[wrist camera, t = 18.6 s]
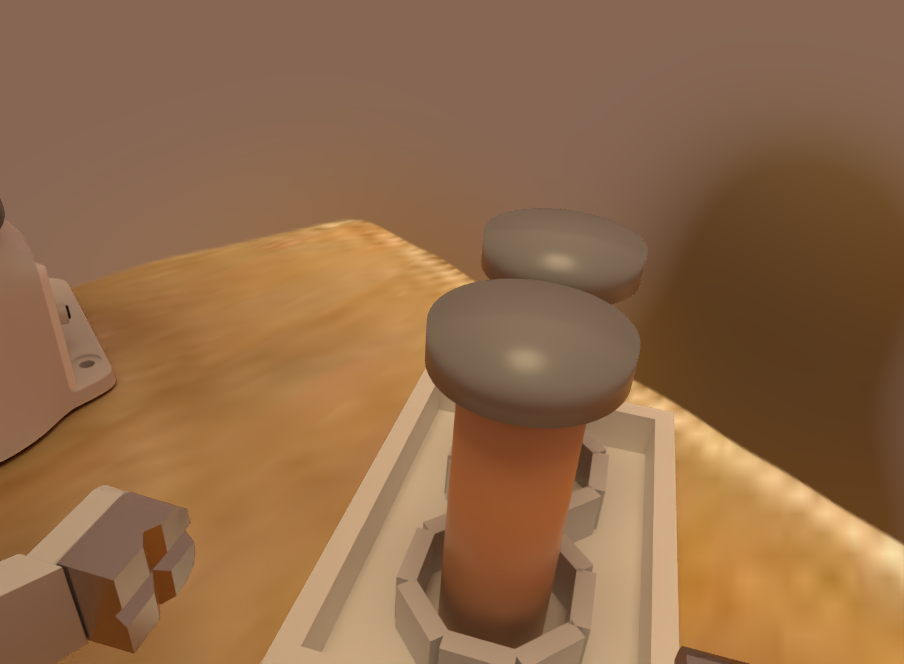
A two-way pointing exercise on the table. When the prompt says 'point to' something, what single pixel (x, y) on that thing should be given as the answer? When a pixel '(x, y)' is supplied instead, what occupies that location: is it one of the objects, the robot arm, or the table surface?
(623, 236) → the grey capped peg
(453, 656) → the housing
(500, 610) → the brown pin with head
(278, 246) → the table surface
